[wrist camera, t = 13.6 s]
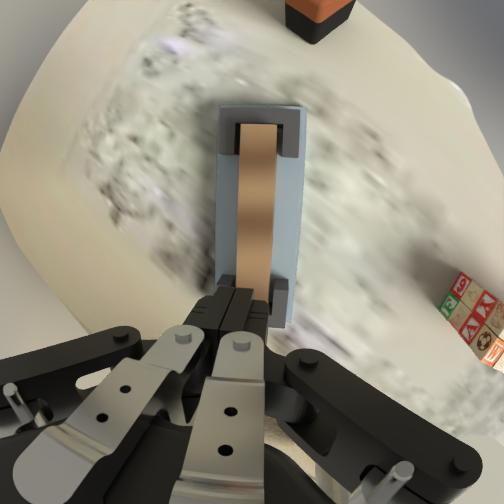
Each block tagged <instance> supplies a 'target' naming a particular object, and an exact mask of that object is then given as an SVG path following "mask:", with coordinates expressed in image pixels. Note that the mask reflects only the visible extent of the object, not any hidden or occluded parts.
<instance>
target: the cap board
mask: <svg viewBox="0 0 504 504" xmlns="http://www.w3.org/2000/svg"><path fill="white" fill-rule="evenodd" d="M306 122H307V107H295V106H278V105H219V123H218V145H217V173H216V217H215V292H216V290H217V289H218V287H219V286H228V287H236V267H237V225H238V190H239V160H240V134H241V124H272V125H277V130H278V143H277V167H276V189H275V209H274V227H273V245H272V261H271V277H270V292H269V303H268V305H269V322H268V327H272V328H285V322H289V323H291V317H292V309H293V300H294V291H295V282H296V272H297V262H298V251H299V240H300V228H301V215H302V201H303V186H304V168H305V148H306Z"/></svg>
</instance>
